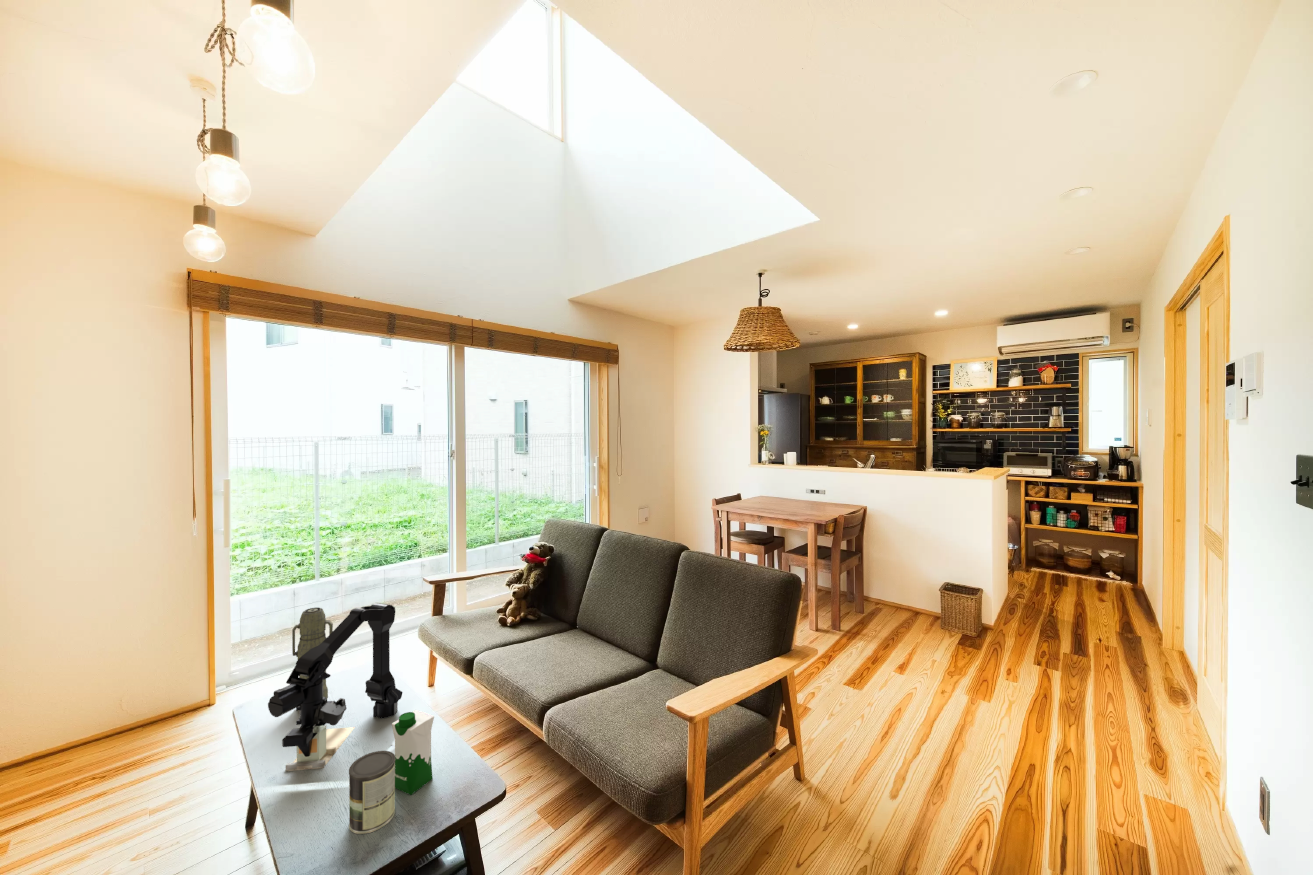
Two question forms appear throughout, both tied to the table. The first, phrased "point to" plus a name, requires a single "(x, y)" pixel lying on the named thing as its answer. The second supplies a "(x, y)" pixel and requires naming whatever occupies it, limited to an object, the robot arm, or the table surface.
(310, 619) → the thermos
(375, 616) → the robot arm
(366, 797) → the coffee can
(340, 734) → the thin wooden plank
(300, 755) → the carton
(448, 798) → the table surface
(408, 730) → the milk carton
